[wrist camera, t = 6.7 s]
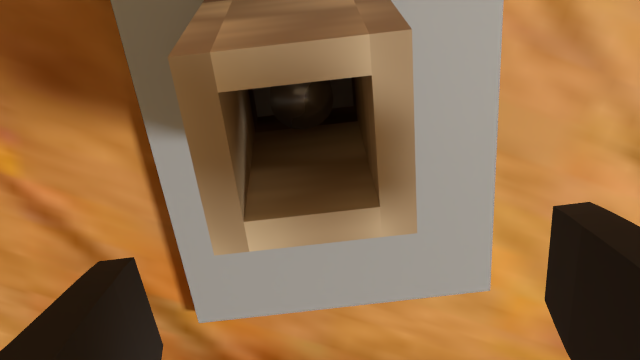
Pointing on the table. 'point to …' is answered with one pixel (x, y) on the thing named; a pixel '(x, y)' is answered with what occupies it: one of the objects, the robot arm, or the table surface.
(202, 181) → the sleeve
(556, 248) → the robot arm
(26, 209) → the table surface
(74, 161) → the table surface
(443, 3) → the board
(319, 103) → the steel pin
